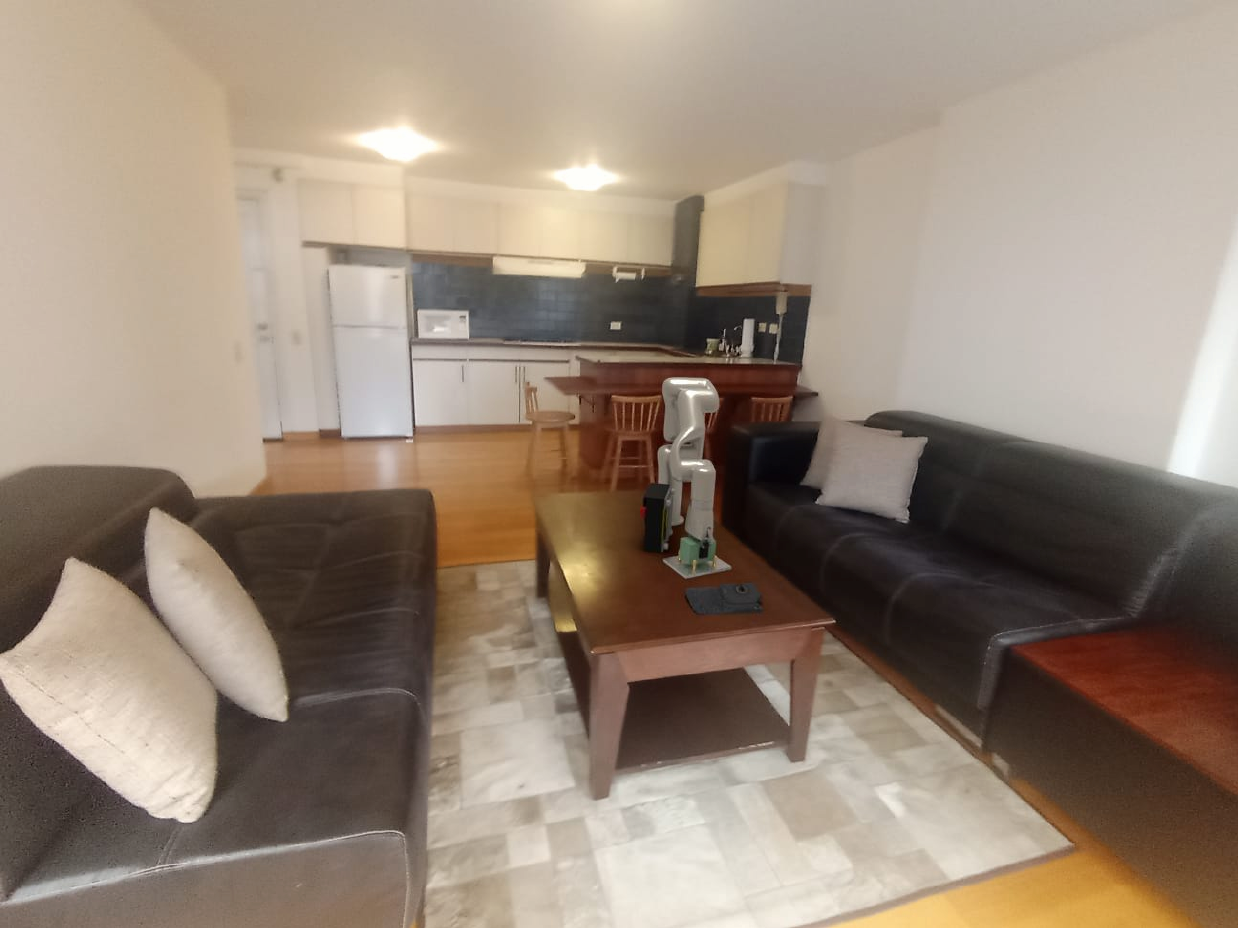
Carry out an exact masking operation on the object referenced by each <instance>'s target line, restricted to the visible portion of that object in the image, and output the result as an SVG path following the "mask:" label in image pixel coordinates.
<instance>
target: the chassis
mask: <svg viewBox="0 0 1238 928" xmlns="http://www.w3.org/2000/svg"><path fill="white" fill-rule="evenodd" d="M662 561H663V563H664V564H666V565H667V566H668V567H670V568H671V569H673V571H675V572H676V573H677V574H678V575H680V576H681V577H682V578H684V579H690V578H696V577H700V576H705V575H710V574H715V573H721V572H725V571H729V570H732V566H731V565H729V564H728V563H726V562H725V561H724V560H722V559H720V558H719V557H718V556H717V555H716V554H715V555H714V556H713V561H708V562H702V563H697V560H696V559H693V564H690V565H688V564H687V563H686V562H685V561H683V560H682V559H681V558H680V548H678V555H676V556H675V555H674V556H671V557H670V556H669V557H666V558H663V559H662Z"/></svg>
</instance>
